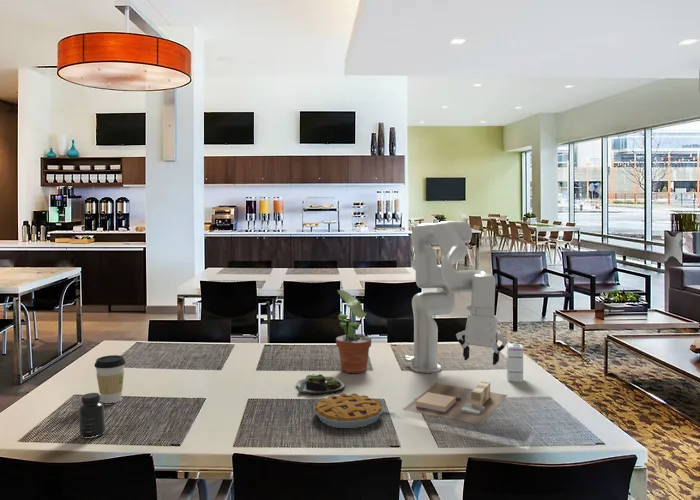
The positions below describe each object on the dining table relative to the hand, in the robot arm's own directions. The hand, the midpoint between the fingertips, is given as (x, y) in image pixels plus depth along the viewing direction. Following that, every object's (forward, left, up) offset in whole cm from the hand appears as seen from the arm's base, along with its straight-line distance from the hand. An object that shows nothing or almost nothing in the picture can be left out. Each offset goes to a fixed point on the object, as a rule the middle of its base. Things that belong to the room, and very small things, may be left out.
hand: (480, 361), depth 188 cm
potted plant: (-56, +13, -15) cm, 59 cm away
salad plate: (-57, -11, -16) cm, 60 cm away
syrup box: (+4, +30, -15) cm, 34 cm away
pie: (-34, -30, -16) cm, 48 cm away
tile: (-12, -6, -12) cm, 17 cm away
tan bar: (0, -3, -14) cm, 14 cm away
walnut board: (-7, -4, -15) cm, 17 cm away
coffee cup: (-112, -58, -15) cm, 127 cm away
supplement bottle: (-93, -79, -15) cm, 123 cm away
